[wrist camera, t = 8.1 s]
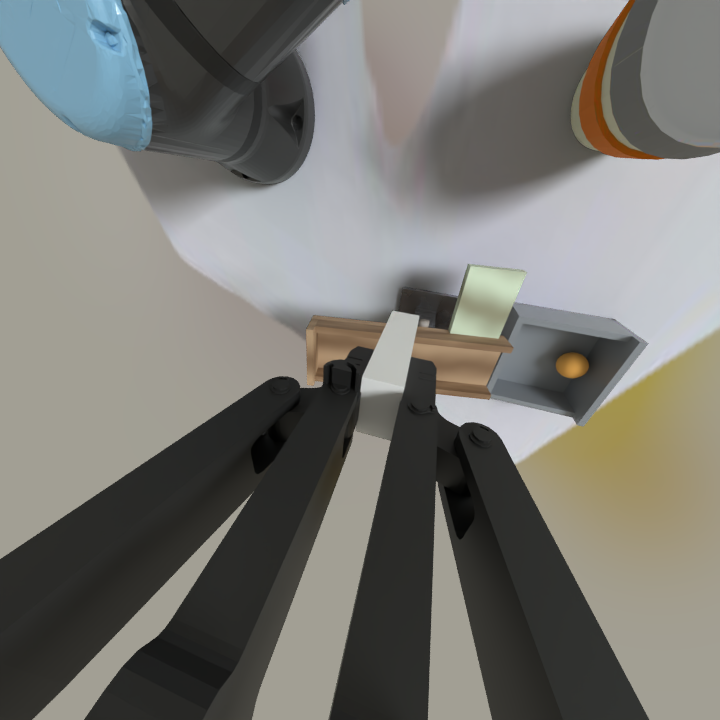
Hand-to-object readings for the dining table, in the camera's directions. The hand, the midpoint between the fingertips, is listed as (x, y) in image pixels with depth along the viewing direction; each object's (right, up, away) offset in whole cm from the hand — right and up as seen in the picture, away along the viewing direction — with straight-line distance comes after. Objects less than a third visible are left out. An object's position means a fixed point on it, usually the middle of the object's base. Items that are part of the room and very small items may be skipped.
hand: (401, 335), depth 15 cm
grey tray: (+24, 0, +24) cm, 34 cm away
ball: (+27, -2, +22) cm, 35 cm away
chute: (+4, +3, +19) cm, 20 cm away
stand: (+7, +4, +27) cm, 29 cm away
